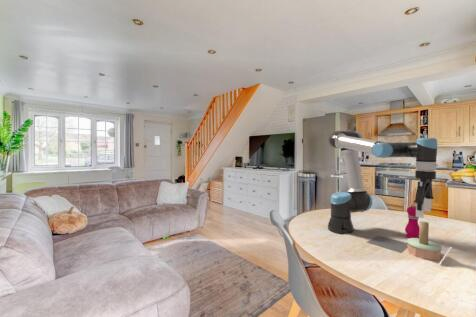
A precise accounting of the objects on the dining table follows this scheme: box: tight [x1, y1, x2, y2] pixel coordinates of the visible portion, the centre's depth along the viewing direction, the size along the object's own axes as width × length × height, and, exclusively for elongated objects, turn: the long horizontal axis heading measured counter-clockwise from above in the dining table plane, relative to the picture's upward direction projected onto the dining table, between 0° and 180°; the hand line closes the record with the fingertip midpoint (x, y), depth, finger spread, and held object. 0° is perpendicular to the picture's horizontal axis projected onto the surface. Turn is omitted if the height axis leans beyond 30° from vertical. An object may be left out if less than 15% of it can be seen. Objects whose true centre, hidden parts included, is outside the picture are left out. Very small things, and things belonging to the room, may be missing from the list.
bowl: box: [406, 242, 442, 261], centre depth 107 cm, size 12×12×5 cm
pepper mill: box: [404, 203, 420, 239], centre depth 126 cm, size 7×7×20 cm
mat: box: [366, 234, 407, 254], centre depth 120 cm, size 16×16×1 cm
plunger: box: [406, 221, 443, 251], centre depth 107 cm, size 13×13×11 cm
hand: (423, 214), depth 107 cm, fingers open, 13 cm apart
